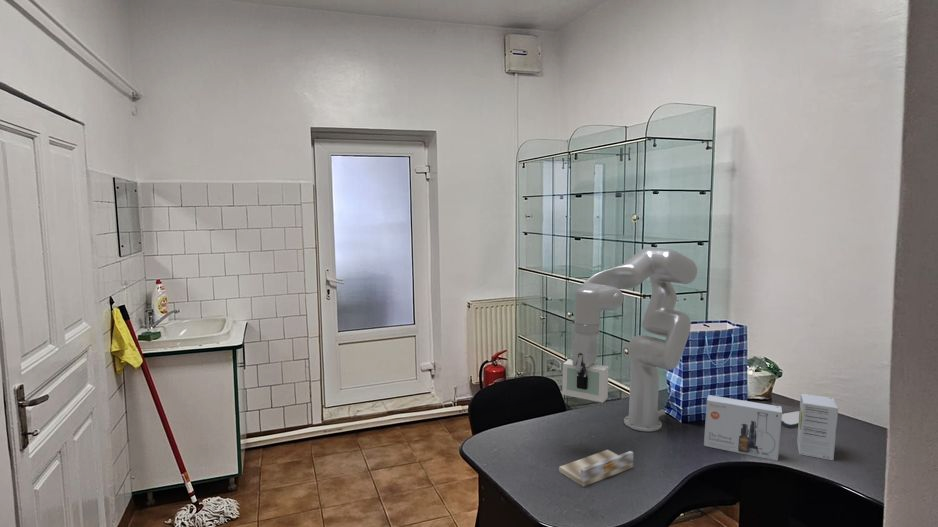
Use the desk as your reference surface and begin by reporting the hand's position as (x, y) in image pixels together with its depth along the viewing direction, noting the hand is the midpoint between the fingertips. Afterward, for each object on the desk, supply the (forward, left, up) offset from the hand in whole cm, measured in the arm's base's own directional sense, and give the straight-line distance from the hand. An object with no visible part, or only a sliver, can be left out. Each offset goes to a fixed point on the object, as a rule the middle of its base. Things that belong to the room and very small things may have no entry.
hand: (584, 385), depth 171 cm
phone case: (-81, +23, -22) cm, 87 cm away
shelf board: (+5, +10, -22) cm, 24 cm away
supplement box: (-61, +39, -22) cm, 76 cm away
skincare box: (-42, +26, -22) cm, 54 cm away
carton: (0, 0, -3) cm, 3 cm away
